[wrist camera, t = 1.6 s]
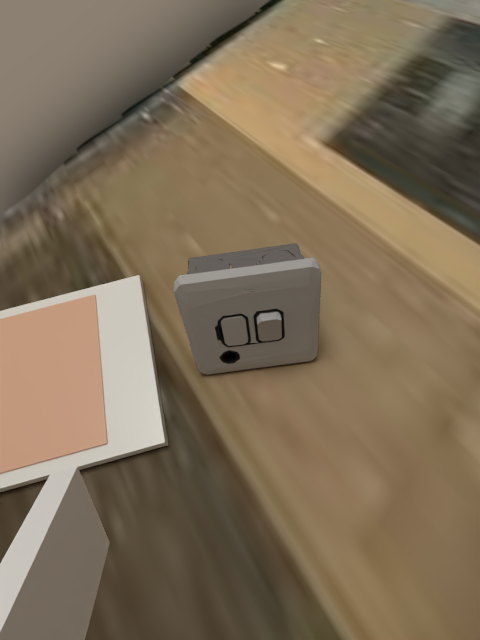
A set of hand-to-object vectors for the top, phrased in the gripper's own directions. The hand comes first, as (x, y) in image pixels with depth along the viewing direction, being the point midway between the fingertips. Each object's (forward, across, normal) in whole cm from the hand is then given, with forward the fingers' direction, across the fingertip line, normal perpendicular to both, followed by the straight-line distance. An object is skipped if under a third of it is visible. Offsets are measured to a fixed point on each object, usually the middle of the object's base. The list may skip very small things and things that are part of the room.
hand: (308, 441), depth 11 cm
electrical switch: (+20, +1, -3) cm, 20 cm away
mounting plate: (+21, -17, -2) cm, 27 cm away
